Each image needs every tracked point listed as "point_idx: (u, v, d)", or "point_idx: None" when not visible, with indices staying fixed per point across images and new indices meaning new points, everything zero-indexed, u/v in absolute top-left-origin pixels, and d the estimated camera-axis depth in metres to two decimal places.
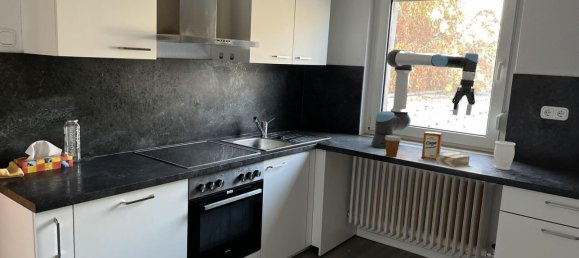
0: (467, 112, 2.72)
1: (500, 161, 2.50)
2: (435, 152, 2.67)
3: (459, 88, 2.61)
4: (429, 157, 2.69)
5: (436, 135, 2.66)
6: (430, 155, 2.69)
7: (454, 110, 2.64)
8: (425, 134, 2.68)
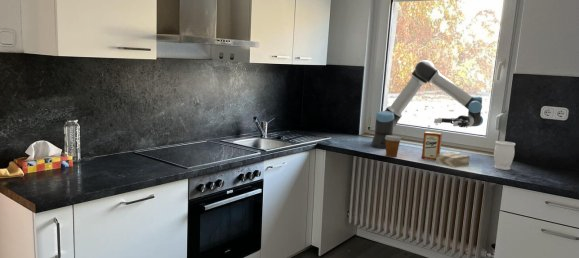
0: (437, 120, 2.80)
1: (500, 161, 2.50)
2: (435, 152, 2.67)
3: (469, 123, 2.78)
4: (429, 157, 2.69)
5: (436, 135, 2.66)
6: (430, 155, 2.69)
7: (457, 123, 2.70)
8: (425, 134, 2.68)
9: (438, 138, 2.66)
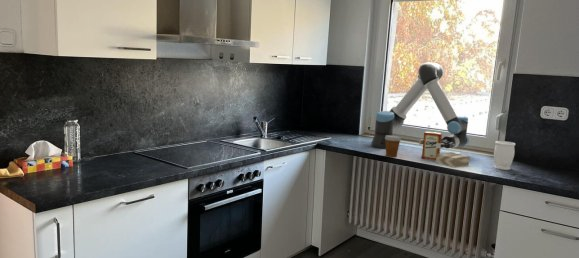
0: (422, 141, 2.74)
1: (500, 161, 2.50)
2: (435, 152, 2.67)
3: (454, 144, 2.72)
4: (429, 157, 2.69)
5: (436, 135, 2.66)
6: (430, 155, 2.69)
7: (439, 145, 2.65)
8: (425, 134, 2.68)
9: (438, 138, 2.66)
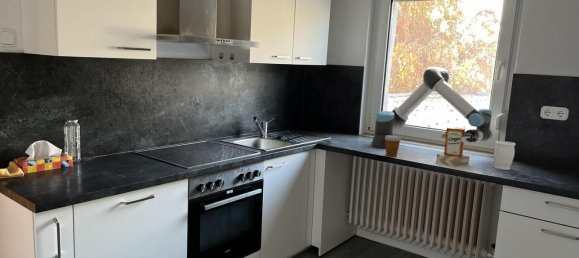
0: (443, 134, 2.62)
1: (500, 161, 2.50)
2: (459, 148, 2.54)
3: (478, 138, 2.60)
4: (452, 154, 2.56)
5: (459, 131, 2.53)
6: (453, 152, 2.56)
7: (465, 138, 2.51)
8: (448, 130, 2.56)
9: (462, 134, 2.53)
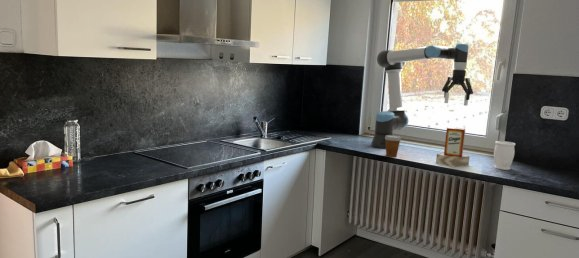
0: (446, 100, 2.81)
1: (500, 161, 2.50)
2: (459, 148, 2.54)
3: (468, 79, 2.69)
4: (452, 154, 2.56)
5: (459, 130, 2.53)
6: (453, 152, 2.56)
7: (466, 101, 2.70)
8: (448, 129, 2.56)
9: (462, 134, 2.53)
